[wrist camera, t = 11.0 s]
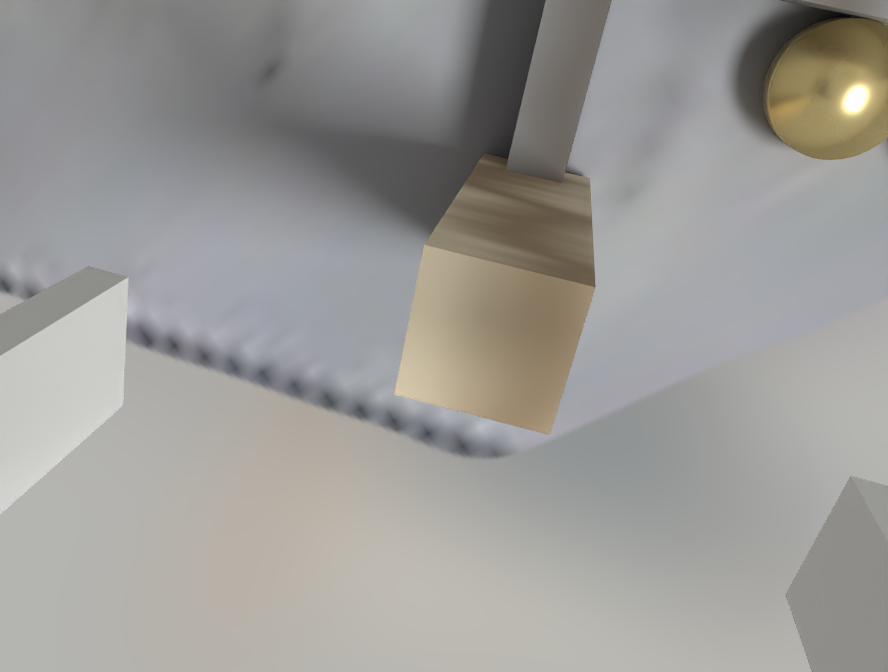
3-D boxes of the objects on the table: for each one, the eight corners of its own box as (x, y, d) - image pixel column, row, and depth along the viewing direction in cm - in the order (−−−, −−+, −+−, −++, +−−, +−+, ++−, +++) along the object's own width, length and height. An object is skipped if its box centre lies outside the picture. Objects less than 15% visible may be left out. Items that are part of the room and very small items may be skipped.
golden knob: (747, 145, 27) (754, 151, 26) (781, 10, 25) (791, 11, 24) (877, 160, 27) (889, 167, 26) (922, 24, 25) (937, 26, 24)
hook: (461, 253, 30) (394, 394, 19) (539, -95, 25) (507, -172, 14) (897, 361, 29) (1087, 575, 18) (1071, 19, 24) (1482, 32, 13)
